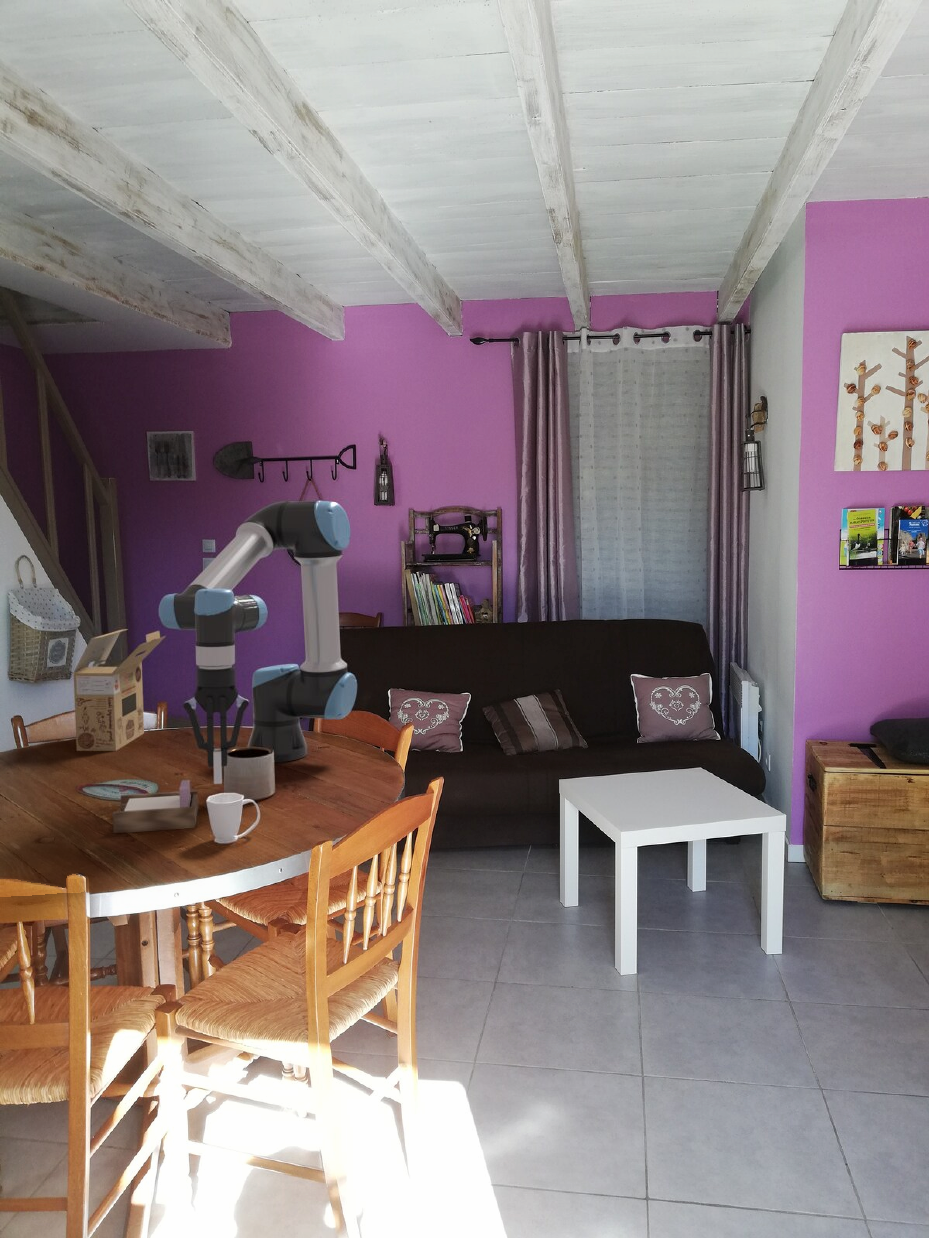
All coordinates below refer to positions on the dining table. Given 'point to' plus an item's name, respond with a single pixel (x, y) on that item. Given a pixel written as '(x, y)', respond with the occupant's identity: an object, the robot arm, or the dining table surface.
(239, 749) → the planter
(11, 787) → the dining table surface
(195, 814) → the pencil case
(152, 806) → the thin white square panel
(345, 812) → the dining table surface
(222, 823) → the cup
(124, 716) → the box
